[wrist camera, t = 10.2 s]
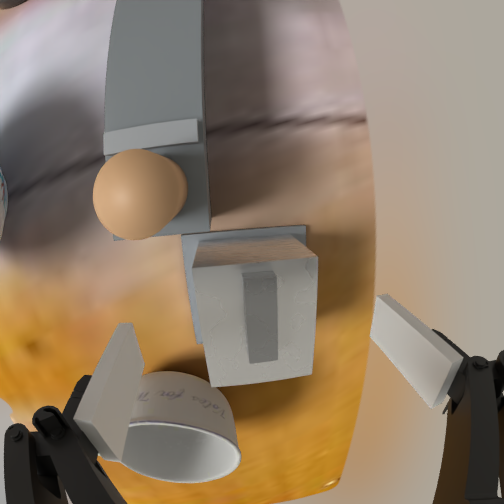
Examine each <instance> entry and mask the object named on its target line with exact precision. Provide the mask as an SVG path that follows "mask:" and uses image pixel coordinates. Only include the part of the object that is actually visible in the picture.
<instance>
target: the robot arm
mask: <svg viewBox="0 0 504 504" xmlns="http://www.w3.org/2000/svg"><path fill="white" fill-rule="evenodd" d="M24 1H26V0H0V9H8V8H11V7H14V6H16V5H18V4H20V3H22V2H24ZM370 337H371V338H372V340H373V341H374V342H375V343H376V344H377V345H378V346H379V347H380V349H381V350H382V351H383V352H384V353H385V355H386V356H387V357H388V358H389V359H390V360H391V361H392V363H393V364H394V365H395V366H396V367H397V369H398V370H399V371H400V372H401V373H402V374H403V376H404V377H405V378H406V379H407V381H408V382H409V383H410V384H411V385H412V386H413V388H414V389H415V390H416V391H417V393H418V394H419V395H420V396H421V397H422V399H423V400H424V401H425V402H426V403H427V405H428V406H429V407H430V408H431V409H432V408H434V407H435V406H437V405H439V404H441V403H442V402H443V401H444V399H445V397H446V395H447V394H448V395H449V396H450V397H451V398H450V399H449V401H448V403H447V405H446V407H445V409H444V411H443V414H445V412H446V410H447V409H448V413H447V427H446V436H445V444H444V452H443V458H442V464H441V469H440V474H439V479H438V484H437V488H436V492H435V497H434V500H433V504H504V396H503V393H502V392H503V391H504V350H503V351H501V352H500V353H499V355H498V357H497V360H494V361H488V360H486V359H485V358H483V357H480V356H473V357H469V356H468V355H467V354H466V353H465V352H463V351H462V350H461V349H460V348H459V347H458V346H456V345H455V344H454V343H453V342H452V341H451V340H449V339H448V338H447V337H446V336H445V335H443V334H442V333H441V332H438V331H436V330H434V329H432V330H431V329H430V328H429V327H428V326H426V325H425V324H424V323H423V322H421V321H420V320H419V319H418V318H417V317H415V316H414V315H413V314H412V313H411V312H409V311H408V310H407V309H406V308H405V307H403V306H402V305H401V304H400V303H398V302H397V301H396V300H394V299H393V298H392V297H391V296H390V295H388V294H383V295H378V296H376V303H375V309H374V315H373V321H372V327H371V332H370ZM144 366H145V363H144V360H143V357H142V354H141V351H140V348H139V344H138V341H137V338H136V334H135V331H134V328H133V324H132V323H119V324H118V326H117V328H116V329H115V331H114V333H113V335H112V337H111V339H110V341H109V343H108V345H107V347H106V349H105V351H104V353H103V355H102V357H101V359H100V361H99V363H98V365H97V367H96V369H95V371H94V373H93V375H84V376H83V377H82V378H81V379H80V380H79V381H78V382H77V384H76V386H75V388H74V392H72V394H71V396H70V397H71V398H69V400H68V402H67V404H66V406H65V409H64V411H63V413H62V414H61V412H60V411H59V409H58V408H56V407H54V406H44V407H42V408H40V409H38V410H37V411H36V412H35V413H34V416H33V418H32V424H33V425H34V426H35V428H36V429H37V430H38V431H37V432H29V430H28V429H27V428H26V426H25V425H23V424H19V423H16V424H13V425H11V426H10V427H9V428H8V429H7V430H6V433H5V439H4V479H5V493H6V502H7V504H68V500H67V496H66V492H67V494H68V496H69V498H70V500H71V501H72V503H73V504H127V503H126V501H125V500H124V499H123V497H122V496H121V495H120V493H119V492H118V490H117V489H116V488H115V486H114V485H113V483H112V482H111V480H110V479H109V477H108V476H107V474H106V473H105V471H104V470H103V468H102V467H101V465H100V463H99V462H98V461H97V456H98V453H99V454H100V455H101V456H102V458H103V459H104V460H108V461H115V462H121V460H122V455H123V450H124V445H125V441H126V436H127V432H128V427H129V423H130V419H131V415H132V411H133V407H134V403H135V399H136V395H137V391H138V387H139V384H140V380H141V376H142V373H143V369H144ZM498 478H499V479H500V487H501V495H502V498H500V497H498V496H497V490H498ZM65 490H66V492H65Z"/></svg>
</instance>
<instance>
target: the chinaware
mask: <svg viewBox="0 0 504 504" xmlns="http://www.w3.org/2000/svg"><path fill="white" fill-rule="evenodd" d="M7 207H8V191H7V185H6V181H5V178H4V175H3V173H2V170H1V166H0V241H1V237H2V232H3V227H4V220H5V217H6V213H7Z"/></svg>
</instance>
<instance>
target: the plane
mask: <svg viewBox="0 0 504 504" xmlns="http://www.w3.org/2000/svg"><path fill="white" fill-rule="evenodd" d="M203 21H204V0H117V1H116V6H115V11H114V17H113V22H112V29H111V35H110V43H109V51H108V60H107V72H106V86H105V119H104V129H105V133H103V148H104V155H105V161H106V163H105V164H104V165H103V167H102V168H101V169H100V171H99V173H98V175H97V177H96V180H95V183H94V188H93V203H94V208H95V211H96V214H97V216H98V218H99V220H100V222H101V223H102V224H103V226H104V227H105V228H106V229H107V230H108V231H110V232H111V233H112V234H113V238H114V241H117V240H126V239H127V240H141V239H145V238H148V237H155V236H165V235H176V234H186V233H198V232H209V231H210V226H211V205H210V191H209V176H208V160H207V142H206V121H205V94H204V41H203Z"/></svg>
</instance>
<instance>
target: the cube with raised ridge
mask: <svg viewBox="0 0 504 504" xmlns="http://www.w3.org/2000/svg"><path fill="white" fill-rule="evenodd" d="M192 273H193V281H194V288H195V295H196V302H197V309H198V315H199V322H200V328H201V334H202V340H203V346H204V352H205V357H206V363H207V368H208V373H209V378H210V384H211V387H224V386H235V385H245V384H253V383H261V382H269V381H276V380H282V379H288V378H294V377H300V376H306V375H311V374H312V368H313V356H314V343H315V328H316V309H317V285H318V256H317V255H315V254H314V253H313V252H312V251H311V250H309V249H308V248H307V247H306V246H304V245H303V244H302V243H301V242H299V241H298V240H297V239H296V238H294V237H293V236H292V235H291V234H277V235H264V236H252V237H239V238H227V239H215V240H204V241H199V242H198V246H197V250H196V254H195V258H194V262H193V266H192Z"/></svg>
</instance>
